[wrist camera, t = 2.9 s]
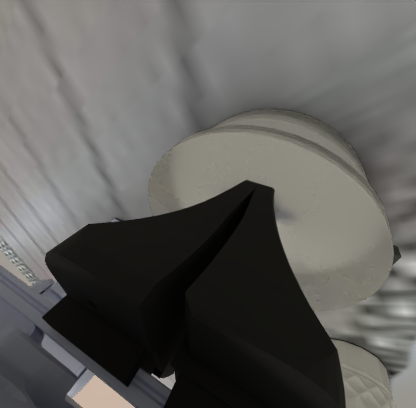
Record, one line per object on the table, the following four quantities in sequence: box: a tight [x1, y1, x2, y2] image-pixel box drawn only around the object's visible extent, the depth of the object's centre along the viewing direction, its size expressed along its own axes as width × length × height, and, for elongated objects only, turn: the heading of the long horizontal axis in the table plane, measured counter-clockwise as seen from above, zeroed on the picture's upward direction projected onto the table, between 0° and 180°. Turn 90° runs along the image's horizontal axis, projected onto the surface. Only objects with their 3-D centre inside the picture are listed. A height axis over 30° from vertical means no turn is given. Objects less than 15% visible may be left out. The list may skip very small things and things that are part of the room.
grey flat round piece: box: [212, 109, 401, 264], centre depth 15 cm, size 15×16×3 cm
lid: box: [148, 125, 394, 311], centre depth 12 cm, size 14×14×2 cm
